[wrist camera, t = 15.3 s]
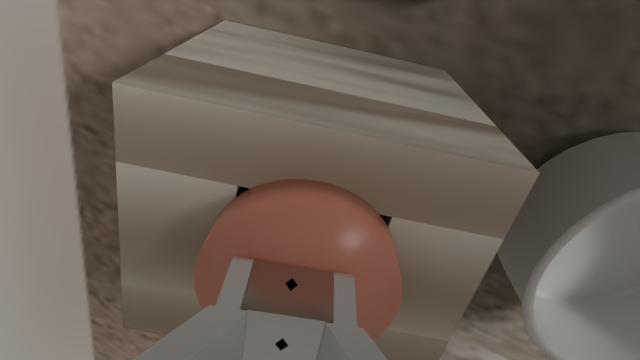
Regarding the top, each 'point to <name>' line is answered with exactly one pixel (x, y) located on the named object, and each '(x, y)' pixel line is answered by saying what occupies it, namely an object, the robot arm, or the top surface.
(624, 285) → the saucepan
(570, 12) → the top surface
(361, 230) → the button
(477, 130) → the rail track
